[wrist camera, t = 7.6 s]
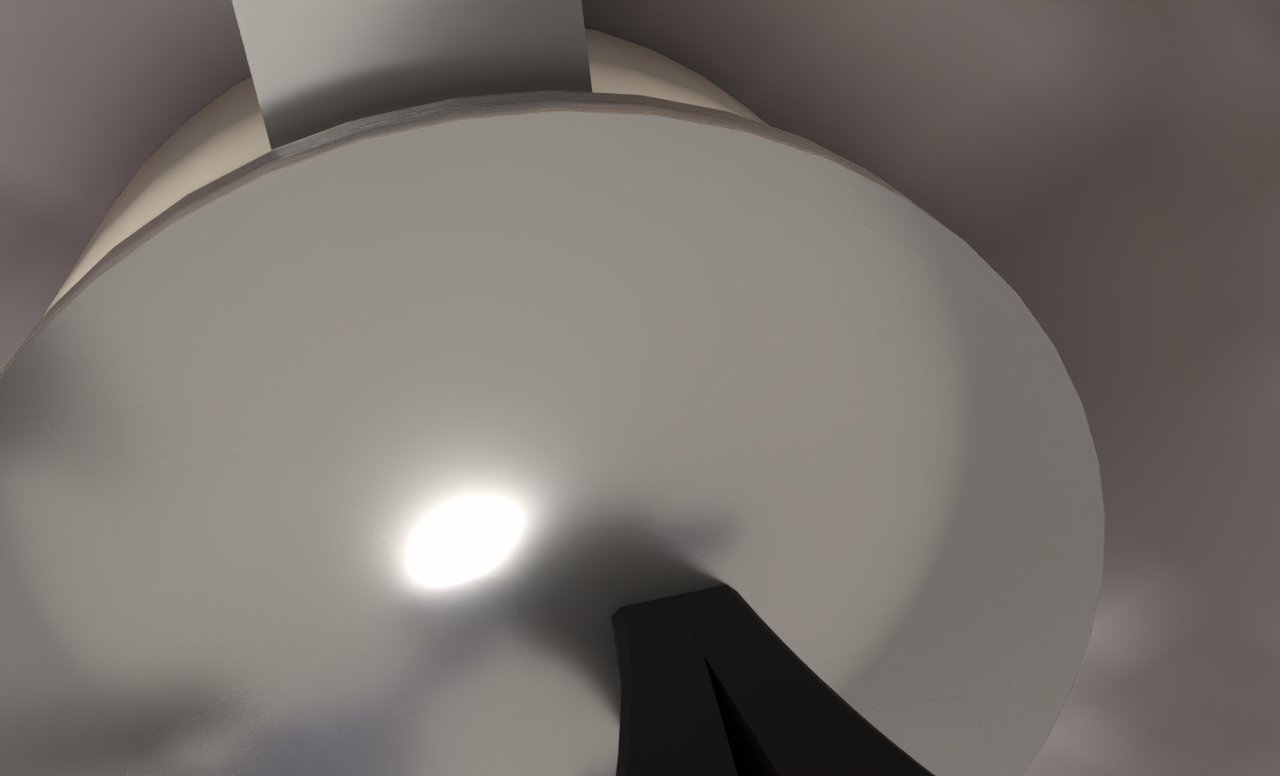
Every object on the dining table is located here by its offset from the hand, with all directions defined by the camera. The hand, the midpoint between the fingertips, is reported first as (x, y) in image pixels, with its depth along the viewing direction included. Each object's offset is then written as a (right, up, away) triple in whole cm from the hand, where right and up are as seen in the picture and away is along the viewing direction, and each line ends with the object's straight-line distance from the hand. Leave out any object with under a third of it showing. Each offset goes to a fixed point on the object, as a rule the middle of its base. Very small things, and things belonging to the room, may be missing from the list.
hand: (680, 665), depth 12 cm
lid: (-1, 0, 0) cm, 2 cm away
